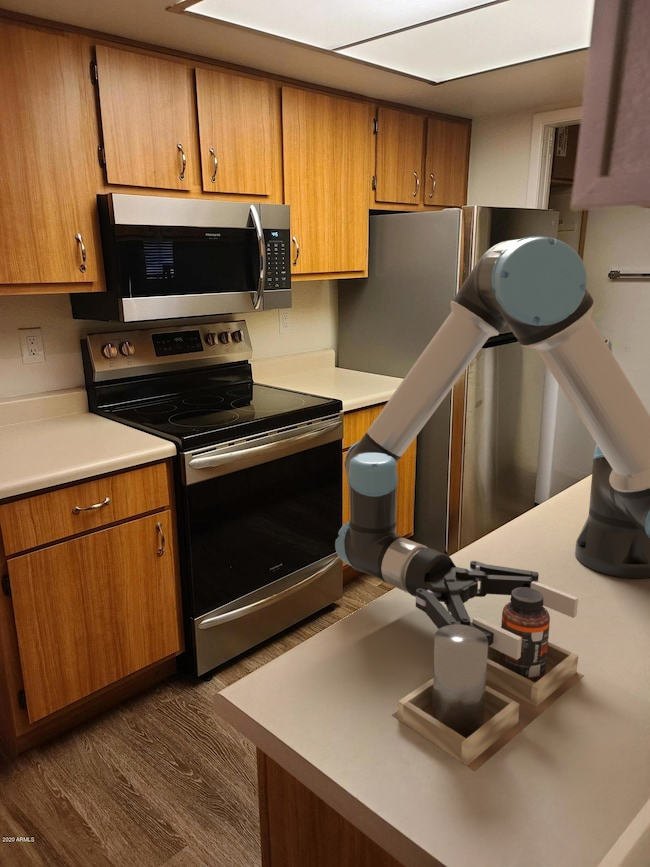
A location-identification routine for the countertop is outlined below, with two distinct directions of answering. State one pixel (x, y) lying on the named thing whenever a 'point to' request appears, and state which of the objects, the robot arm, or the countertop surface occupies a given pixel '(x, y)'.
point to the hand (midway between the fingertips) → (549, 627)
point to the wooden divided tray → (493, 706)
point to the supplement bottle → (527, 632)
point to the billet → (460, 678)
